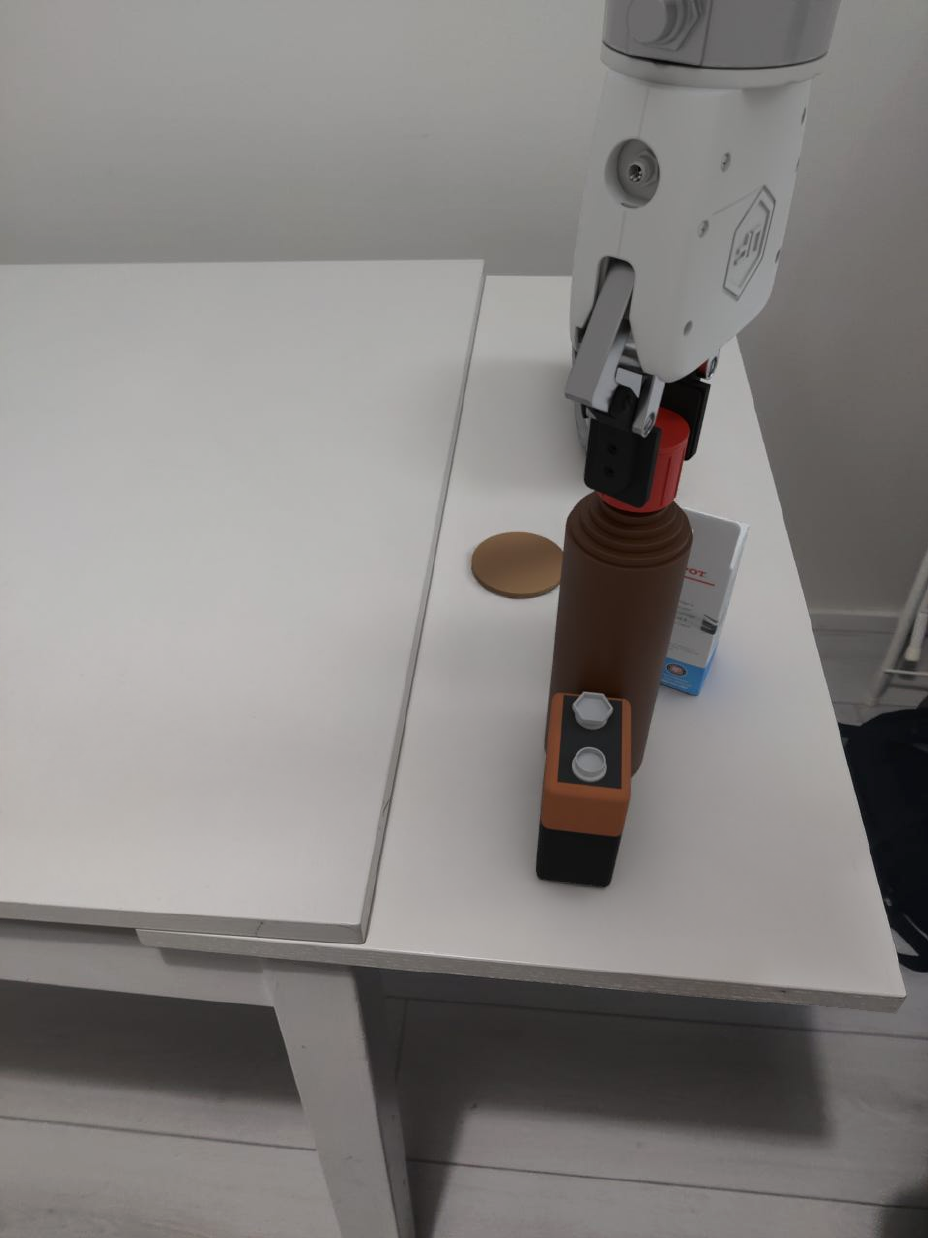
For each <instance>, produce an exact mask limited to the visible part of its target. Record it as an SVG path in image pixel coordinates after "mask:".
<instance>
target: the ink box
mask: <svg viewBox="0 0 928 1238" xmlns="http://www.w3.org/2000/svg"><path fill="white" fill-rule="evenodd" d="M679 506H680V507H681V508H682V509H683V511H684V512H685V513H686V515H687V517H688V519H689V522H690V525H691V528H692V531H693V543H692V547H691V552H690V556H689V560H688V565H687V569H686V573H685V578H684V582H683V586H682V591H681V595H680V599H679V604H678V608H677V612H676V617H675V621H674V625H673V630H672V634H671V638H670V643H669V647H668V651H667V656H666V660H665V664H664V669H663V673H662V677H661V682H660V685H665V686H666V687H670V688H673V689H675V690H679V691H682V692H684V693H687V694H690V695H693V696H698V695H700V692H701V691H702V688H703V685H704V683H705V680H706V678H707V675H708V673H709V670H710V667H711V665H712V663H713V660H714V657H715V654H716V651H717V648H718V645H719V640H720V637H721V633H722V630H723V627H724V623H725V620H726V616H727V613H728V609H729V607H730V603H731V598H732V594H733V590H734V587H735V583H736V579H737V576H738V572H739V568H740V564H741V561H742V557H743V553H744V549H745V546H746V542H747V538H748V534H749V529H750V524H748V523H744V522H741V521H738V520H734V519H730V518H726V517H722V516H719V515H715V514H711V513H709V512H704V511H702V510H701V511H700V510H697V509H693V508H691V507H686V506H683V505H679Z"/></svg>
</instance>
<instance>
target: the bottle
mask: <svg viewBox="0 0 928 1238" xmlns="http://www.w3.org/2000/svg"><path fill="white" fill-rule="evenodd" d="M680 506H681V505H679V504H678V503H677V501H676V500H675V499H674V500H673V502H672V503H671V504H669V505H668V506H667V507H665V508H663V509H661V510H657V511H652V512H643V513H638V512H630V511H625V510H621V509H618V508H616V507H613V506H611V505H609V504H608V503H606V502H605V501H604V500H603V499H602V498H601V497H600V496H599V495H598V493H597V491H595V490H593V491H592V492H590V493H589V494H586V495H585V496H584V497H582V498H581V499H580V500H579V501H577V502H576V504H575V506H573V509H571V511H570V513H569V514H568V516H567V518H566V522H565V527H564V528H565V529H564V539H563V548H562V551H563V558H562V568H561V578H560V584H559V589H558V590H559V591H558V598H557V609H556V619H555V630H554V639H553V640H554V641H553V649H552V661H551V670H550V671H551V672H550V681H549V690H548V700H547V711H546V722H545V731H544V740H543V741H544V743H543V748H544V753H545V754H546V749H547V740H548V730H549V721H550V711H551V703H552V698H553V696H554V695H555V694H556V693H570V694H579V695H581V694H582V693H583V692H591V693H601V694H604V695H605V697H609V698H618V699H625V700H627V701H628V702H629V703H630V706H631V778H632V777H633V776H634V775H635V774H636V773H638V771H639V769H640V767H641V765H642V763H643V759H644V755H645V751H646V746H647V743H648V737H649V734H650V729H651V725H652V720H653V715H654V712H655V707H656V704H657V699H658V694H659V691H660V686H661V683H660V682H661V677H662V673H663V669H664V664H665V660H666V656H667V651H668V647H669V643H670V638H671V634H672V630H673V625H674V621H675V617H676V612H677V608H678V604H679V599H680V595H681V591H682V586H683V582H684V578H685V573H686V569H687V565H688V560H689V556H690V552H691V547H692V543H693V531H692V528H691V525H690V522H689V519H688V517H687V515H686V513H685V512H684V511H683V509H682V508H681V507H680Z"/></svg>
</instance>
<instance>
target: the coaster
mask: <svg viewBox="0 0 928 1238" xmlns="http://www.w3.org/2000/svg"><path fill="white" fill-rule="evenodd" d="M476 546H477V547H475V548H474V550H473V552H472V555H471V560H470V561H471V562H470V563H471V564H470V566H471V572H472V574H473V577H474V579H475V580H476V581H477V582H478V583H479V584H480V585H481V586H482V587H483V588H485V589H487V590H488V591H490V592H492V593H494V594H496V595H499V596H502V597H508V598H512V599H513V598H514V599H515V598H516V599H527V598H528V599H529V598H534V597H539V596H542V595H545V594H547V593H550V592H551V591H553V590H555V589H556V588H557V587H558V586H560V578H561V568H562V558H563V549H562V548H561V547H560V546H559V545H558V544H557V543H556V542H554V541H553V540H551V539H549V538H547V537H546V536H543V535H541V534H538V533H534V532H529V531H528V532H527V531H505V532H501V533H497V534H495V535H491V536H489V537H487V538H486V539H484V540H483V541H481V542H480V543H479V544H478V545H476Z"/></svg>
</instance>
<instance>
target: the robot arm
mask: <svg viewBox="0 0 928 1238" xmlns="http://www.w3.org/2000/svg"><path fill="white" fill-rule="evenodd" d="M841 1H842V0H605V3H604V12H603V13H604V14H603V23H602V33H601V34H602V35H601V46H600V55H599V57H600V58H599V60H600V62H602V64H603V65H605V66H606V67H607V68H608V70H607V71H606V72H605V76H604V80H603V85H602V90H601V95H600V100H599V103H598V107H597V111H596V117H595V124H594V128H593V133H592V140H591V143H590V149H589V155H588V161H587V167H586V172H585V177H584V184H583V190H582V196H581V202H580V203H581V204H580V208H579V209H580V210H579V217H578V224H577V230H576V231H577V232H576V240H575V246H574V247H575V248H574V255H573V263H572V273H571V275H572V276H571V283H570V284H571V285H570V295H569V296H570V297H569V298H570V299H569V337H570V342H571V346H572V345H573V347H574V349H575V350H576V351H577V352H578V354H577V356H576V359H575V362H574V364H573V367H572V366H571V370H570V372H569V375H568V379H567V381H566V383H565V387H564V396H565V397H564V398H566V399H567V400H571V401H573V402H574V401H576V402H578V403H581V404H584V405H585V406H586V415H587V416H588V417H590V418H591V419H590V428H589V436H588V445H587V452H586V453H585V462H584V471H583V483H584V485H585V486H586V488H588V489H590V490H593V491H597V492H600V493H602V494H605V495H607V496H609V497H612V498H614V499H617V500H619V501H622V502H624V503H626V504H629V505H631V506H634V507H636V508H641V507H643V506H644V505H645V504H646V503H647V502H648V501H649V499H650V495H651V489H652V484H653V479H654V473H655V468H656V462H657V457H658V452H659V446H660V441H661V435H662V430H663V429H661V428H659V427H656V426H654V424H655V421H656V417H657V413H658V409H659V407H662V408H665V409H668V410H671V411H673V412H675V413H677V414H679V415H680V416H681V417H682V418H684V420H685V421H686V422H687V423H688V426H689V430H690V432H689V438H688V443H687V447H686V452H685V457H684V462H688V461H690V460H691V459H692V458H693V457H694V456H695V455H696V453H697V451H698V446H699V441H700V437H701V433H702V427H703V423H704V420H705V414H706V410H707V405H708V401H709V397H710V392H711V387H712V384H711V383H708V382H705V381H710V380H711V379H712V377H713V376H714V374H715V372H716V371H717V368H718V365H719V360H720V353H721V348H723V347H724V346H725V345H726V344H727V343H729V342H730V341H731V340H732V339H733V338H734V337H735V336H736V335H738V334H739V333H740V332H741V331H742V330H743V329H744V328H745V327H746V326H747V325H749V324H750V323H751V322H752V321H754V319H755V318H756V317H757V316H758V315H759V314H760V313H761V311H762V310H763V309H764V308H765V306H766V305H767V303H768V301H769V300H770V297H771V294H772V292H773V288H774V285H775V280H776V275H777V271H778V266H779V261H780V258H781V253H782V252H781V251H782V249H783V243H784V239H785V233H786V229H787V223H788V220H789V214H790V211H791V205H792V199H793V194H794V190H795V186H796V185H795V184H796V181H797V175H798V169H799V165H800V160H801V153H802V148H803V142H804V137H805V130H806V124H807V119H808V110H809V103H810V95H811V87H812V80H813V79H814V78H815V77H817V76H820V75H821V74H822V73H823V72H824V69H825V65H826V61H827V56H828V52H829V49H830V45H831V42H832V37H833V34H834V30H835V25H836V21H837V18H838V14H839V8H840V5H841ZM628 338H629V339H633V340H634V343H635V347H636V349H635V348H632V347H629V346H626V342H627V340H628ZM618 368H621V369H624V370H627V371H630V372H633V373H636V374H639V375H642V380H641V387H640V393H639V397H637V396H636V394H635V393H634V391H633V390H632V389H631V388H630V387H627V386H624V385H622V384H620V383H618V382H616V380H615V379H616V374H617V370H618ZM701 379H703V380H705V381H702V380H701Z"/></svg>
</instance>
